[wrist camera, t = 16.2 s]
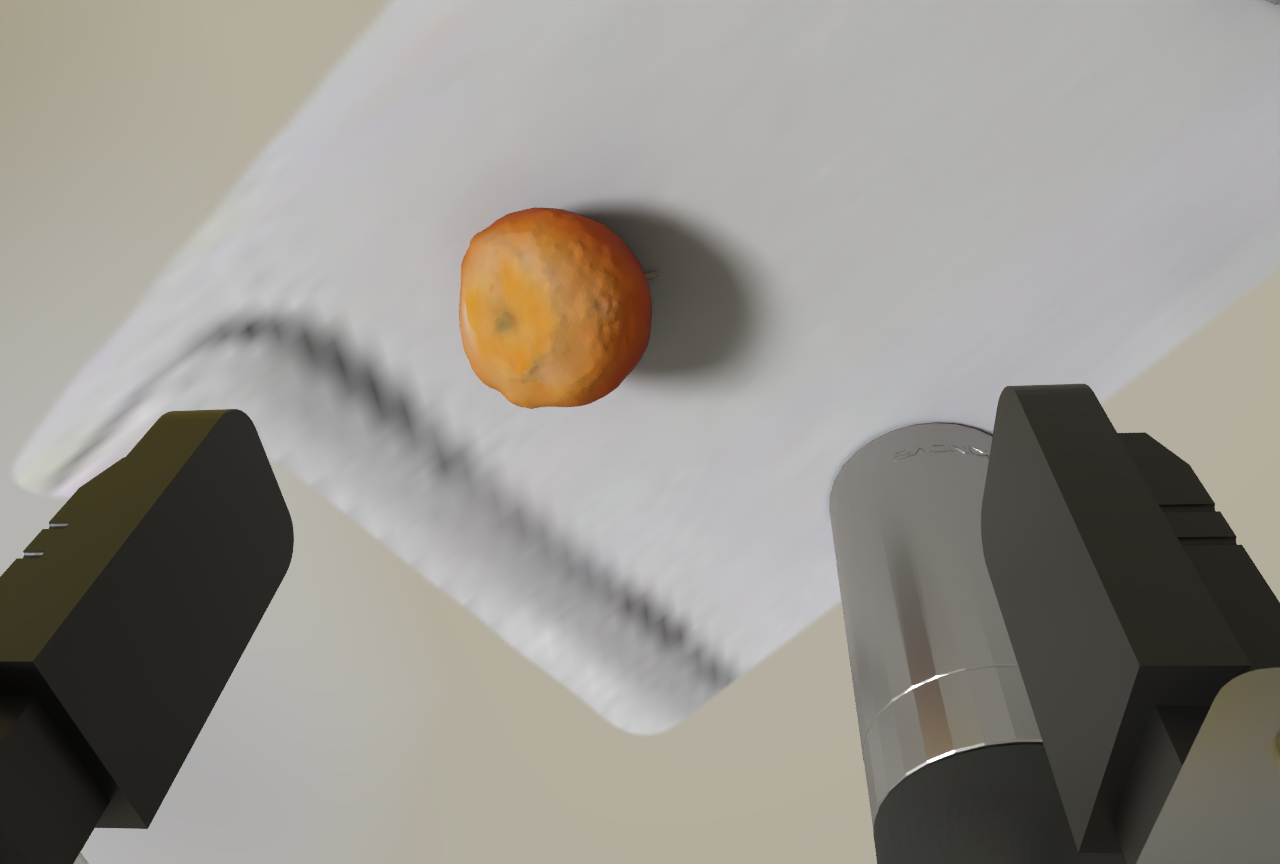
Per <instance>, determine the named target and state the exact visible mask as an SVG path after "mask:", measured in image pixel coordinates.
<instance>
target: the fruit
mask: <svg viewBox="0 0 1280 864" xmlns="http://www.w3.org/2000/svg"><path fill="white" fill-rule="evenodd" d="M657 273H658V272H656V271H654V272H648V273H644V272H643V269H642V267H641V264H640V262H639V261H638V259H637V258H636V256H635V255H634V254H633V252H632V251H631V250H630V249H629V248H628V246H627V245H626V244H625V243H624V241H623V240H622V239H621V238H620V237H619V236H618V235H617V234H615V233H614V232H613V231H612V230H610V229H609V228H608V227H606V226H605V225H603V224H602V223H600V222H597V221H595V220H592V219H590V218H587V217H584V216H581V215H578V214H575V213H571V212H568V211H565V210H561V209H553V208H531V209H526V210H522V211H518V212H514V213H510V214H507V215H506V216H504V217H502V218H500V219H498V220H496V221H495V222H494V223H493V224H492V225H491V226H489V227H488V228H486V229H485V230H483V231H482V232H479V233H477V234H476V235H475V236H474V237H473V238H472V239H471V242H470V246H469V248H468V251H467V252H466V254H465V256H464V258H463V261H462V267H461V290H460V304H459V320H460V330H461V336H462V342H463V347H464V350H465V353H466V355H467V358H468V359H469V361H470V364H471V367H472V369H473V371H474V372H475V374H476V375H477V376H478V378H479V379H480V380H481V381H482V382H483V383H484V384H486V385H487V386H489V387H491V388H493V389H496V390H498V391H499V392H501V393H502V394H503V395H504V396H505V398H506V399H507V400H508V401H510V402H511V403H513V404H515V405H517V406H520V407H526V408H530V409H533V408H537V407H546V406H555V407H574V406H582V405H586V404H590V403H592V402H594V401H596V400H598V399H600V398H602V397H604V396H606V395H607V394H609V393H610V392H612V391H613V390H614V389H616V388H617V387H618V386H619V385H620V383H621V382H622V381H623V380H624V379H625V378H626V376H627V375H628V374H629V373H630V372H631V371H632V369H633V368H634V367H635V366H636V365H637V363H638V362H639V360H640V359H641V357H642V356H643V354H644V352H645V350H646V348H647V346H648V342H649V338H650V330H651V316H652V304H651V296H650V290H649V286H648V283H647V280H649V279H652V278H654V277H658V275H657Z"/></svg>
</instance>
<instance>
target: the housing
mask: <svg viewBox="0 0 1280 864" xmlns="http://www.w3.org/2000/svg"><path fill="white" fill-rule="evenodd" d="M1266 1H1268V2H1271V3H1273V4H1275V5H1278V4H1280V0H1266Z"/></svg>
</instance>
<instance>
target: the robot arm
mask: <svg viewBox="0 0 1280 864" xmlns="http://www.w3.org/2000/svg"><path fill="white" fill-rule="evenodd" d="M1214 506H1215V503H1214V502H1213V500H1212V499H1211V497H1210V496H1209V494H1208V493H1207V491H1206V489H1205V488H1204V486H1203V485H1202V483H1201V482H1200V481H1199V479H1198V477H1197V476H1196V474H1195V473H1194V471H1193V470H1192V468H1191V467H1190V465H1189V464H1187V463H1186V462H1185V461H1183V460H1182V459H1181V458H1179V457H1178V456H1176V455H1175V454H1174V453H1172V452H1171V451H1169V450H1168V449H1166V447H1164V446H1163V445H1161V444H1160V443H1159V442H1157V441H1156V440H1155V439H1153V438H1152V437H1150V436H1149V435H1148V434H1146V433H1117V432H1116V431H1115V429H1114V427H1113V425H1112V423H1111V422H1110V420H1109V418H1108V417H1107V415H1106V413H1105V411H1104V410H1103V408H1102V406H1101V404H1100V403H1099V401H1098V399H1097V397H1096V396H1095V394H1094V392H1093V391H1092V389H1091V388H1090V387H1089V386H1088V385H1086V384H1063V385H1032V386H1007V387H1005V388H1004V390H1003V391H1002V393H1001V395H1000V398H999V402H998V407H997V412H996V419H995V425H994V431H993V437H992V436H990V435H988V434H985V433H983V432H981V431H979V430H977V429H973V428H969V427H965V426H961V425H957V424H942V423H931V424H922V425H913V426H909V427H906V428H902V429H898V430H895V431H891V432H889V433H887V434H885V435H883V436H881V437H879V438H877V439H874V440H872V441H871V442H870V443H868V444H867V445H865V446H864V447H863V448H861V449H860V450H858V451H857V452H856V453H855V454H854V455H853V456H852V457H851V458H850V459H849V460H848V461H847V462H846V463H845V464H844V465H843V467H842V469H841V470H840V472H839V474H838V475H837V477H836V479H835V481H834V484H833V487H832V491H831V494H830V517H831V524H832V532H833V539H834V546H835V554H836V561H837V571H838V578H839V585H840V593H841V600H842V607H843V614H844V622H845V629H846V636H847V643H848V651H849V658H850V665H851V672H852V680H853V687H854V694H855V702H856V709H857V716H858V724H859V731H860V738H861V746H862V753H863V760H864V764H865V772H866V779H867V786H868V794H869V801H870V808H871V815H872V823H873V830H874V841H875V848H876V856H877V864H1280V603H1279V601H1278V600H1277V598H1276V596H1275V595H1274V593H1273V592H1272V590H1271V589H1270V587H1269V586H1268V584H1267V583H1266V581H1265V580H1264V578H1263V577H1262V575H1261V574H1260V572H1259V570H1258V569H1257V567H1256V566H1255V564H1254V563H1253V561H1252V560H1251V558H1250V557H1249V555H1248V554H1247V552H1246V551H1245V549H1244V548H1243V546H1242V545H1237V544H1236V536H1235V534H1234V532H1233V531H1232V529H1231V528H1230V526H1229V525H1228V523H1227V522H1226V520H1225V518H1224V517H1223V516H1222V514H1221V512H1215V508H1214ZM49 524H50V527H49V529H43V530H42V531H41V532H40V533H39V534H38V535H37V536H36V538H35V539H34V540H33V541H32V542H31V543H30V544H29V545H28V546H27V548H26V549H25V550H24V551H23V552H24V557H23V559H16V560H15V561H14V562H13V563H12V565H11V566H10V567H9V568H8V569H7V570H6V571H5V572H4V574H3V575H2V576H1V577H0V864H88V862H87V860H86V859H85V858H84V856H83V855H82V854H81V853H80V851H81V850H82V848H83V847H84V845H85V843H86V841H87V840H88V838H89V836H90V835H91V833H92V831H93V830H94V828H140V829H147V828H148V827H149V825H150V823H151V822H152V820H153V818H154V816H155V814H156V812H157V810H158V809H159V807H160V805H161V803H162V801H163V799H164V797H165V795H166V794H167V792H168V790H169V788H170V786H171V785H172V783H173V781H174V779H175V777H176V775H177V774H178V772H179V770H180V768H181V766H182V764H183V762H184V761H185V759H186V757H187V755H188V753H189V751H190V750H191V748H192V746H193V744H194V742H195V740H196V738H197V737H198V735H199V733H200V731H201V729H202V727H203V725H204V724H205V722H206V720H207V718H208V716H209V714H210V713H211V711H212V709H213V707H214V705H215V703H216V702H217V700H218V698H219V696H220V694H221V692H222V690H223V689H224V687H225V685H226V683H227V681H228V679H229V678H230V676H231V674H232V672H233V670H234V668H235V666H236V665H237V663H238V661H239V659H240V657H241V655H242V653H243V652H244V650H245V648H246V646H247V644H248V642H249V641H250V639H251V637H252V635H253V633H254V631H255V629H256V628H257V626H258V624H259V622H260V620H261V618H262V617H263V615H264V613H265V611H266V609H267V607H268V606H269V604H270V602H271V600H272V598H273V596H274V595H275V592H276V591H277V589H278V587H279V585H280V583H281V582H282V580H283V578H284V576H285V574H286V572H287V570H288V568H289V565H290V562H291V558H292V553H293V542H294V536H293V525H292V521H291V517H290V514H289V511H288V509H287V506H286V503H285V501H284V498H283V496H282V493H281V491H280V488H279V486H278V483H277V481H276V478H275V476H274V473H273V471H272V468H271V466H270V463H269V461H268V458H267V456H266V453H265V451H264V448H263V446H262V443H261V441H260V438H259V436H258V433H257V431H256V428H255V426H254V424H253V422H252V421H251V419H250V418H249V417H248V416H247V415H246V414H245V413H244V412H242V411H240V410H238V409H227V410H197V411H171V412H168V413H166V414H164V415H162V416H161V417H160V418H159V419H158V420H157V421H156V423H155V424H154V425H153V426H152V427H151V428H150V430H149V431H148V432H147V433H146V434H145V435H144V437H143V438H142V439H141V440H140V441H139V442H138V444H137V445H136V446H135V447H134V448H133V449H132V451H131V452H130V453H129V454H128V455H127V456H126V457H124V458H122V459H121V460H119V461H118V462H116V463H115V464H114V465H112V466H111V467H109V468H108V469H106V470H105V471H103V472H102V473H100V474H99V475H98V476H96V477H95V478H93V479H92V480H90V481H89V482H87V483H86V484H84V485H83V486H82V487H80V488H79V489H78V490H77V491H76V492H75V494H74V495H73V496H72V497H71V498H70V499H69V500H68V501H67V503H66V504H65V505H64V506H63V507H62V508H61V509H60V510H59V512H58V513H57V514H56V515H55V516H54V517H53V518H52V520H51V521H50V522H49Z"/></svg>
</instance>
